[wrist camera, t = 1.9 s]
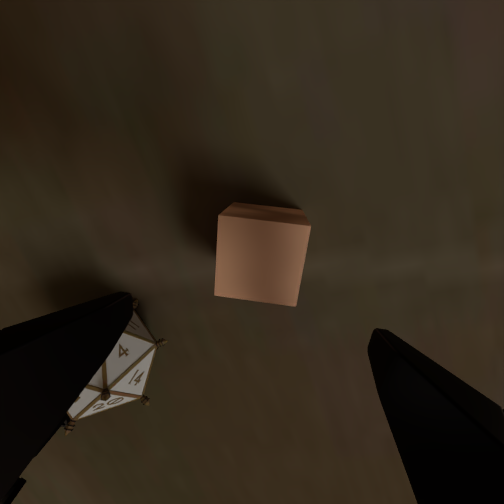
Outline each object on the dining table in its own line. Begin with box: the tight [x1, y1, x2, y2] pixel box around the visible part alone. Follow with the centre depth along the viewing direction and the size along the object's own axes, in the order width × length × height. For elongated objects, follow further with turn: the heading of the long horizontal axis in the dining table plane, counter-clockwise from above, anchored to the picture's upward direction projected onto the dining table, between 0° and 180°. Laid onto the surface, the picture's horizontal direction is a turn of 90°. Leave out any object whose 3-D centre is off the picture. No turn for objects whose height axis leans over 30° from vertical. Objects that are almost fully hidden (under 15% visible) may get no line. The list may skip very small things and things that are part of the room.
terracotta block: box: [215, 202, 311, 307], centre depth 16 cm, size 5×5×5 cm
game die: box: [64, 299, 168, 436], centre depth 19 cm, size 9×8×10 cm
